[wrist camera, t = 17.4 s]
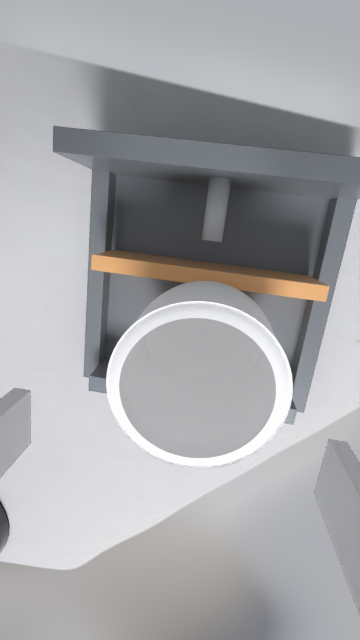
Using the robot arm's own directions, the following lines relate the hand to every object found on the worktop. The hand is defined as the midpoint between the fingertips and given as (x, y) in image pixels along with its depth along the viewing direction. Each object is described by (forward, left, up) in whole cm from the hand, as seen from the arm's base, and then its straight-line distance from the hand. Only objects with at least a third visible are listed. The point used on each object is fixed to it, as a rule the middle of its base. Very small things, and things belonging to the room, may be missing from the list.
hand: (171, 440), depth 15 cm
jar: (0, -1, -20) cm, 20 cm away
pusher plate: (+5, 0, -19) cm, 20 cm away
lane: (+4, 0, -20) cm, 21 cm away
